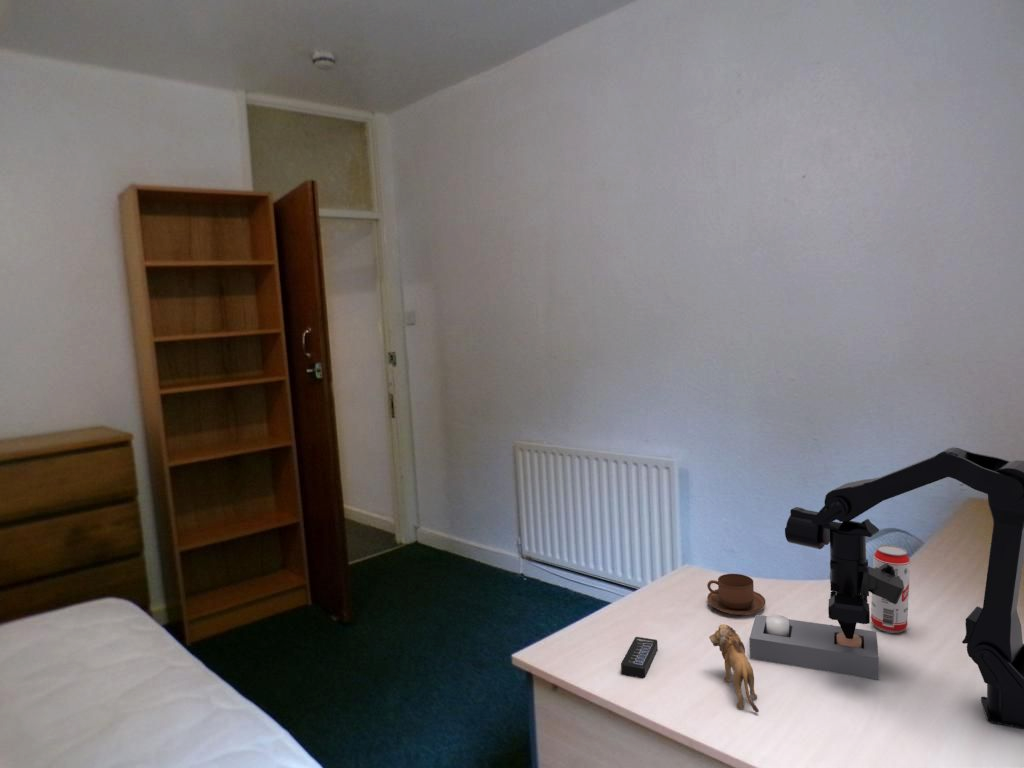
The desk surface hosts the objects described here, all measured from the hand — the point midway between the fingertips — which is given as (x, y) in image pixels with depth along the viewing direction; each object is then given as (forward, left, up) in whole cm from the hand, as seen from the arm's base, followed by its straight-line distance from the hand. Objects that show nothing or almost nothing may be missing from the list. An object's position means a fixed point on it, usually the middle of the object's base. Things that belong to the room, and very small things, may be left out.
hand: (849, 637), depth 119 cm
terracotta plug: (0, 0, -4) cm, 4 cm away
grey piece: (0, +12, -2) cm, 12 cm away
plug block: (0, +6, -4) cm, 8 cm away
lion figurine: (-16, +18, -5) cm, 24 cm away
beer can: (+16, -7, -4) cm, 18 cm away
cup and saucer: (+16, +22, -5) cm, 28 cm away
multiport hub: (-13, +35, -5) cm, 38 cm away
